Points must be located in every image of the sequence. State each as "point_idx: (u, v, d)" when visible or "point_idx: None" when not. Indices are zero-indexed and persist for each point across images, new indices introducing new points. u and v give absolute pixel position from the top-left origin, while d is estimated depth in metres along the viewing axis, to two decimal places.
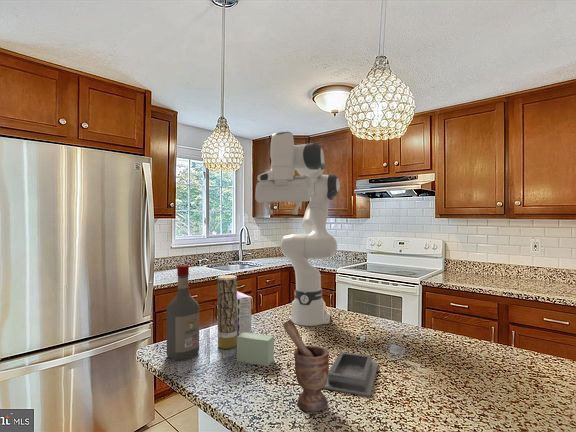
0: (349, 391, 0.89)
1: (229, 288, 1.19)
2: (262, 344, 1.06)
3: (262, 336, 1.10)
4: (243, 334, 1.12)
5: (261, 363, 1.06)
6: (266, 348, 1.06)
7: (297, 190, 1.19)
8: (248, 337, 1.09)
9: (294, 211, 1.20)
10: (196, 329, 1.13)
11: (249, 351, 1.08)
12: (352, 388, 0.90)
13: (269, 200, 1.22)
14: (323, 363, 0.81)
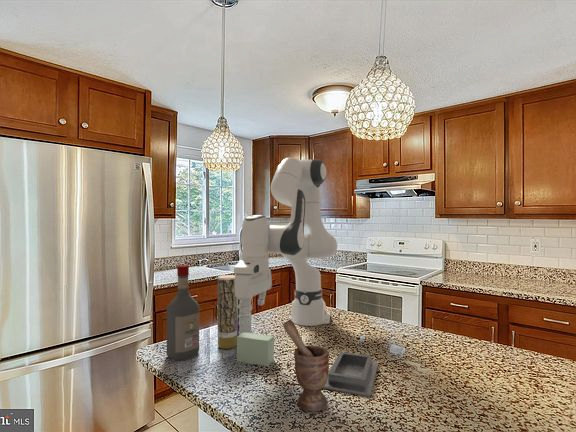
0: (349, 391, 0.89)
1: (229, 288, 1.19)
2: (262, 344, 1.06)
3: (262, 336, 1.10)
4: (243, 334, 1.12)
5: (261, 363, 1.06)
6: (266, 348, 1.06)
7: (267, 279, 1.15)
8: (248, 337, 1.09)
9: (263, 301, 1.14)
10: (196, 329, 1.13)
11: (249, 351, 1.08)
12: (352, 388, 0.90)
13: (253, 295, 1.05)
14: (323, 363, 0.81)
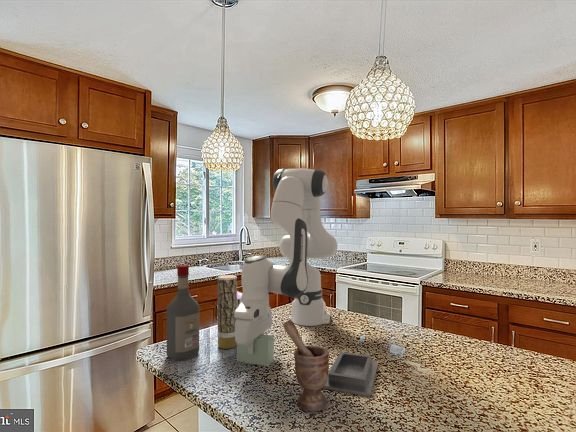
0: (349, 391, 0.89)
1: (229, 288, 1.19)
2: (262, 344, 1.06)
3: (262, 336, 1.10)
4: None
5: (261, 363, 1.06)
6: (266, 348, 1.06)
7: (267, 318, 1.15)
8: None
9: None
10: (196, 329, 1.13)
11: None
12: (352, 388, 0.90)
13: None
14: (323, 363, 0.81)
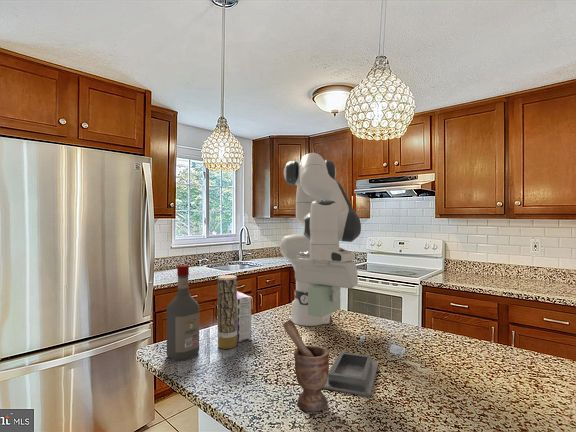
0: (349, 391, 0.89)
1: (229, 288, 1.19)
2: None
3: None
4: (315, 287, 0.98)
5: (336, 308, 1.03)
6: (339, 291, 1.04)
7: None
8: (326, 286, 0.99)
9: None
10: (196, 329, 1.13)
11: (329, 300, 0.99)
12: (352, 388, 0.90)
13: None
14: (323, 363, 0.81)
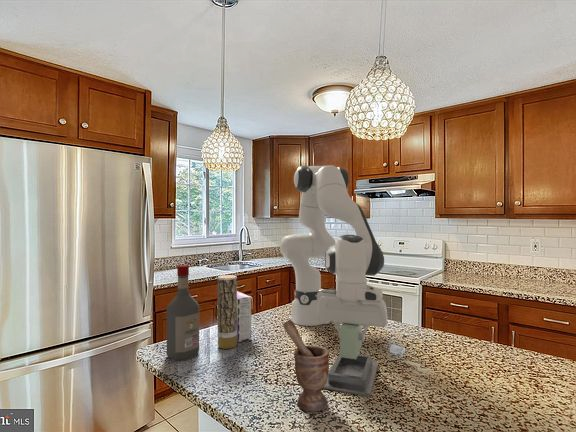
0: (349, 391, 0.89)
1: (229, 288, 1.19)
2: (361, 325, 1.02)
3: None
4: (347, 327, 0.95)
5: (360, 345, 1.01)
6: (361, 327, 1.03)
7: None
8: (356, 325, 0.97)
9: None
10: (196, 329, 1.13)
11: (358, 339, 0.97)
12: (352, 388, 0.90)
13: None
14: (323, 363, 0.81)
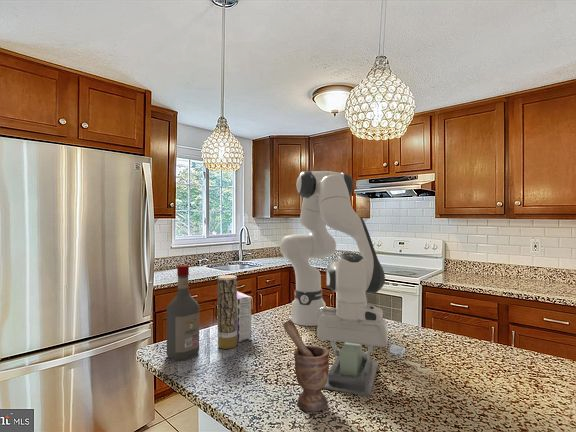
0: (349, 391, 0.89)
1: (229, 288, 1.19)
2: (361, 346, 1.02)
3: None
4: (347, 351, 0.95)
5: (360, 367, 1.01)
6: (361, 348, 1.03)
7: None
8: (356, 348, 0.97)
9: None
10: (196, 329, 1.13)
11: (358, 361, 0.97)
12: (352, 388, 0.90)
13: None
14: (323, 363, 0.81)
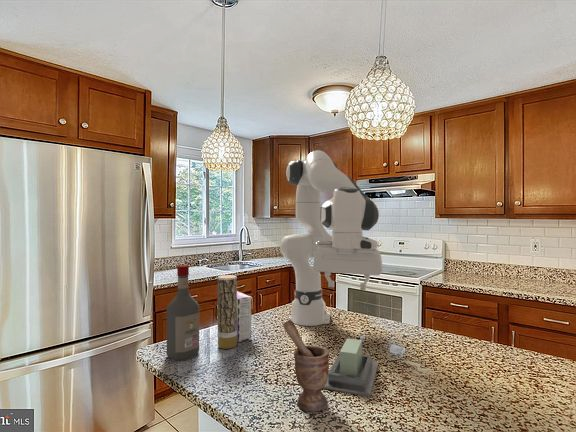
0: (349, 391, 0.89)
1: (229, 288, 1.19)
2: (361, 346, 1.02)
3: (350, 342, 1.01)
4: (347, 351, 0.95)
5: (360, 367, 1.01)
6: (361, 348, 1.03)
7: None
8: (356, 348, 0.97)
9: None
10: (196, 329, 1.13)
11: (358, 361, 0.97)
12: (352, 388, 0.90)
13: None
14: (323, 363, 0.81)
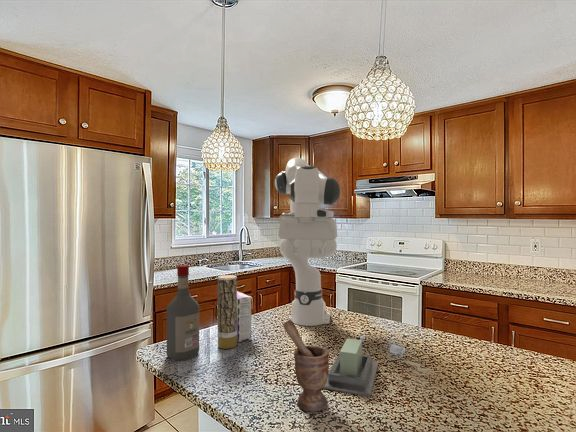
0: (349, 391, 0.89)
1: (229, 288, 1.19)
2: (361, 346, 1.02)
3: (350, 342, 1.01)
4: (347, 351, 0.95)
5: (360, 367, 1.01)
6: (361, 348, 1.03)
7: None
8: (356, 348, 0.97)
9: None
10: (196, 329, 1.13)
11: (358, 361, 0.97)
12: (352, 388, 0.90)
13: None
14: (323, 363, 0.81)
